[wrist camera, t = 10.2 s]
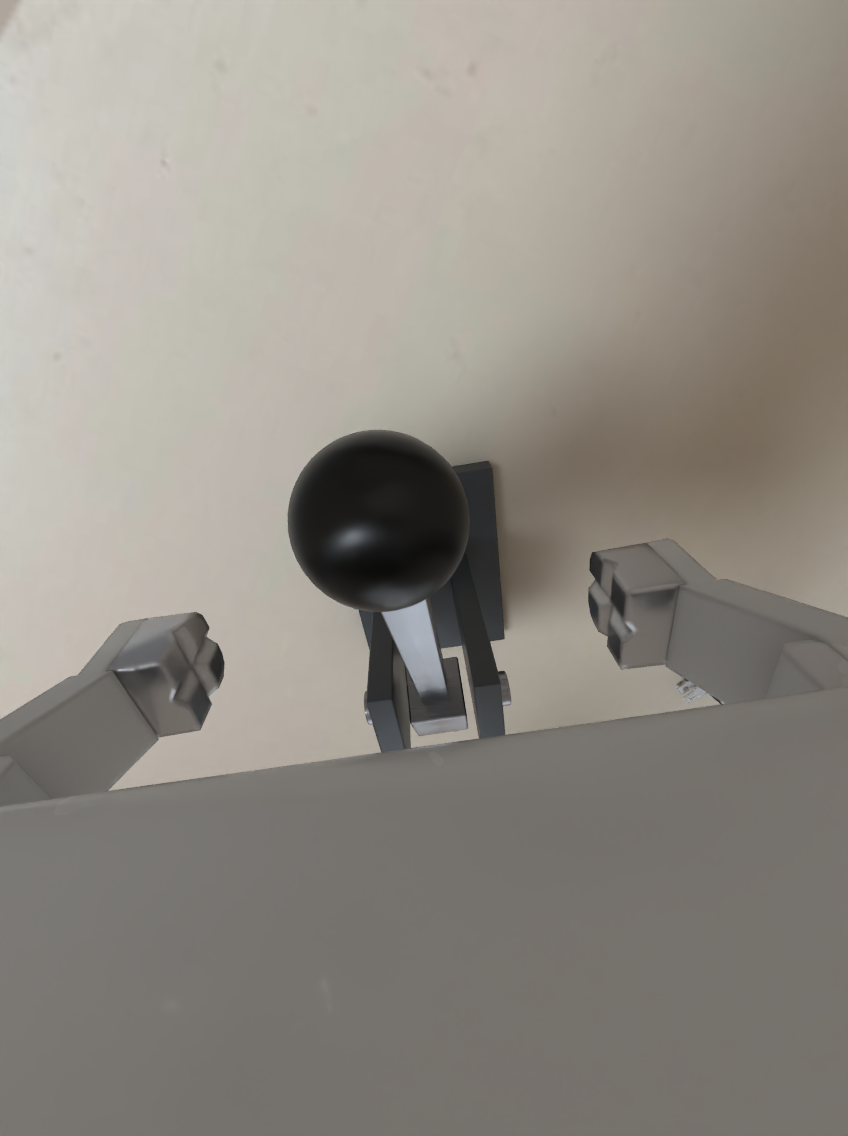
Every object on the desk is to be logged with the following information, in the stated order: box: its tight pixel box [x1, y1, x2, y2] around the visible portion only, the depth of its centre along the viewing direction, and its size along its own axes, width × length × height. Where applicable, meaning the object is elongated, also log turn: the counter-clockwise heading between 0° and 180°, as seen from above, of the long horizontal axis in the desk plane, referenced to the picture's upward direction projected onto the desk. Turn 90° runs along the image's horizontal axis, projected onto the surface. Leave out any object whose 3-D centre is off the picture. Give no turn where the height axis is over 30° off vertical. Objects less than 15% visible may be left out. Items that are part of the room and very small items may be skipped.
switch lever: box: [288, 430, 470, 736], centre depth 14 cm, size 16×3×3 cm, turn 8°
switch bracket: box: [359, 461, 511, 752], centre depth 24 cm, size 12×9×13 cm
